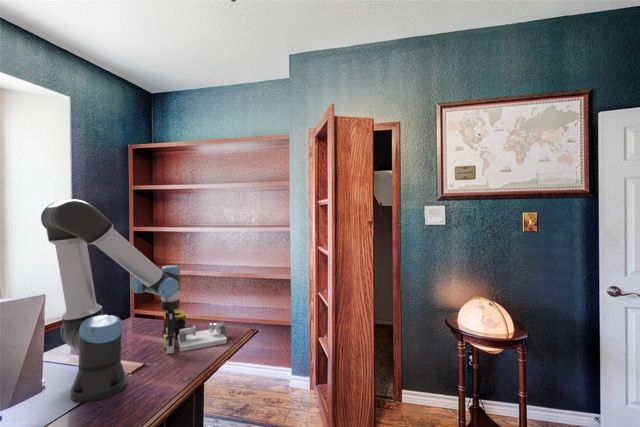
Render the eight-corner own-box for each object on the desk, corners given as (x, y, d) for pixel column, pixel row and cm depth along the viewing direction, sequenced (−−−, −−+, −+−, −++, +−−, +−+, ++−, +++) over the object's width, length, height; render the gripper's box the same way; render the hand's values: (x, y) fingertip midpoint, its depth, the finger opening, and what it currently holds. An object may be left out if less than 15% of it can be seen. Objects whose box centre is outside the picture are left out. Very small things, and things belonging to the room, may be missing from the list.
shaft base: (179, 351, 130) (180, 333, 130) (177, 338, 144) (178, 322, 144) (226, 343, 140) (227, 326, 140) (220, 331, 154) (220, 316, 154)
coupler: (163, 350, 131) (163, 335, 131) (163, 346, 135) (163, 331, 135) (175, 348, 133) (175, 333, 134) (174, 344, 137) (174, 330, 138)
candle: (163, 331, 153) (164, 312, 153) (185, 328, 157) (185, 309, 158) (162, 338, 144) (163, 318, 144) (185, 335, 148) (185, 315, 148)
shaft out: (212, 336, 142) (212, 324, 142) (208, 333, 146) (208, 321, 146) (225, 333, 147) (226, 321, 147) (221, 330, 150) (221, 319, 151)
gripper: (181, 305, 126) (180, 356, 125) (177, 292, 148) (177, 335, 147) (161, 308, 122) (160, 360, 122) (160, 294, 144) (159, 338, 144)
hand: (169, 346), depth 135 cm, fingers open, 13 cm apart
